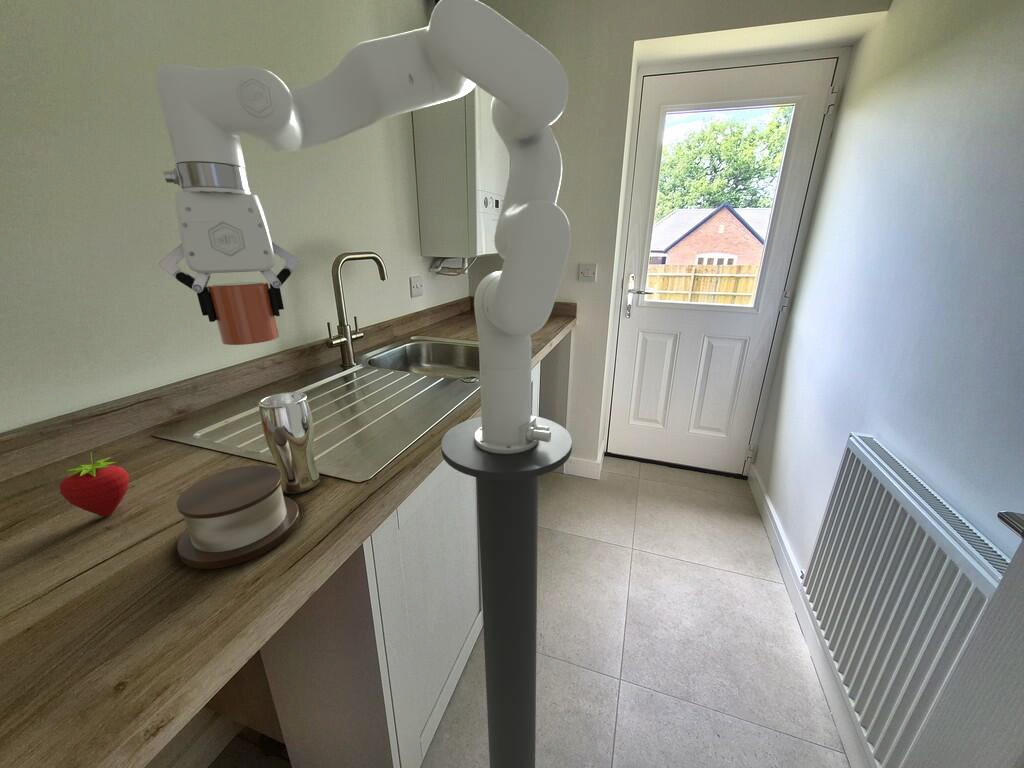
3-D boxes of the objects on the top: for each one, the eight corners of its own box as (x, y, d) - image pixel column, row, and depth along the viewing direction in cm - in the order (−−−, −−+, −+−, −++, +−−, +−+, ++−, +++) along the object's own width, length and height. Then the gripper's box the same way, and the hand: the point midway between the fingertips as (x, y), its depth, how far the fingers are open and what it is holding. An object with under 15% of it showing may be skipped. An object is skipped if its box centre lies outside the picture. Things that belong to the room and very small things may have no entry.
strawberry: (92, 506, 62) (69, 447, 59) (149, 500, 64) (129, 442, 60) (60, 531, 57) (33, 468, 53) (124, 524, 58) (100, 461, 55)
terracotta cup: (289, 336, 62) (279, 282, 60) (243, 346, 56) (229, 286, 53) (258, 333, 65) (246, 281, 62) (210, 342, 59) (195, 285, 56)
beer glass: (295, 471, 71) (278, 390, 66) (331, 474, 70) (317, 392, 65) (266, 494, 65) (245, 406, 60) (305, 497, 64) (287, 408, 59)
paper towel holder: (321, 515, 59) (313, 473, 57) (222, 584, 47) (207, 534, 45) (258, 492, 65) (249, 453, 63) (156, 549, 53) (139, 503, 51)
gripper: (120, 174, 47) (165, 328, 52) (291, 183, 55) (314, 315, 60) (138, 183, 53) (177, 320, 59) (289, 189, 61) (310, 309, 66)
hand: (246, 316), depth 59 cm, fingers closed on terracotta cup, 7 cm apart
